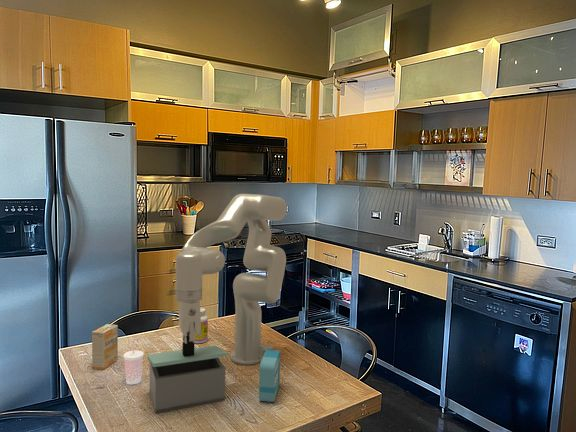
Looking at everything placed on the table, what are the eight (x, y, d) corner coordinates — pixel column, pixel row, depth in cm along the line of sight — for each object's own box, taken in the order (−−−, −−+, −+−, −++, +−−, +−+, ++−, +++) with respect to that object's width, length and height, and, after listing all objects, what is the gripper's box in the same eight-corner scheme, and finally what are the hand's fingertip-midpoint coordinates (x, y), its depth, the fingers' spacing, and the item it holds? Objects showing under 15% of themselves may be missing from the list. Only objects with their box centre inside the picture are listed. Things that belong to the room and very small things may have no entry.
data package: (273, 404, 128) (274, 365, 126) (258, 402, 128) (259, 364, 127) (279, 384, 139) (280, 349, 138) (265, 383, 140) (266, 348, 139)
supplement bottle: (205, 344, 170) (206, 312, 169) (188, 343, 170) (189, 312, 169) (209, 337, 177) (209, 307, 176) (192, 337, 177) (193, 306, 176)
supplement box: (104, 370, 146) (103, 332, 145) (91, 368, 147) (91, 331, 145) (118, 360, 154) (118, 324, 153) (106, 358, 155) (106, 323, 154)
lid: (215, 348, 141) (214, 345, 141) (227, 356, 128) (227, 352, 128) (147, 357, 132) (147, 354, 132) (153, 367, 119) (153, 363, 119)
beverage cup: (136, 374, 143) (136, 333, 142) (147, 380, 140) (147, 338, 138) (119, 381, 138) (119, 339, 137) (131, 387, 135) (130, 344, 134)
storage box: (213, 379, 142) (213, 350, 141) (224, 400, 129) (225, 368, 128) (149, 390, 133) (149, 359, 132) (155, 413, 121) (155, 379, 120)
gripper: (207, 300, 120) (206, 363, 122) (196, 287, 134) (195, 344, 136) (180, 302, 117) (179, 367, 119) (171, 288, 131) (171, 347, 133)
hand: (188, 354), depth 127 cm, fingers closed
